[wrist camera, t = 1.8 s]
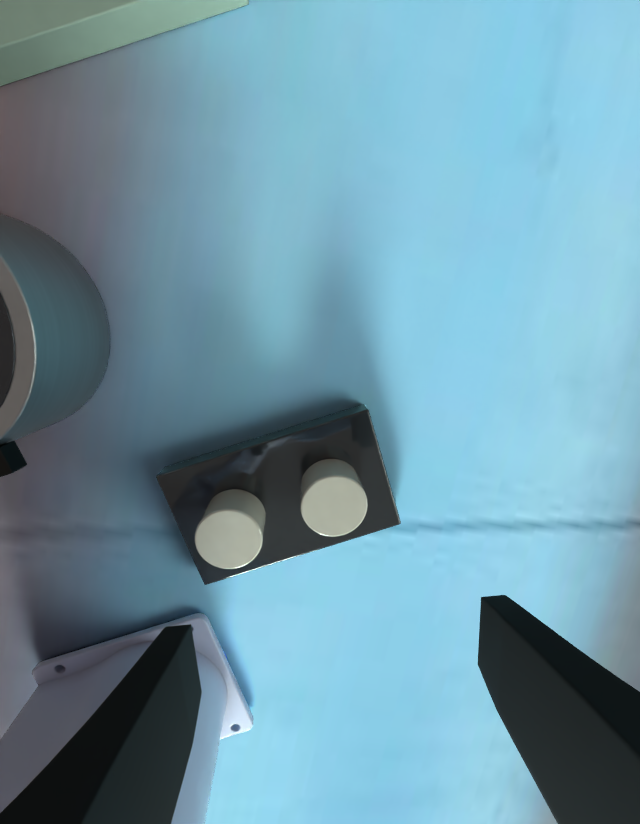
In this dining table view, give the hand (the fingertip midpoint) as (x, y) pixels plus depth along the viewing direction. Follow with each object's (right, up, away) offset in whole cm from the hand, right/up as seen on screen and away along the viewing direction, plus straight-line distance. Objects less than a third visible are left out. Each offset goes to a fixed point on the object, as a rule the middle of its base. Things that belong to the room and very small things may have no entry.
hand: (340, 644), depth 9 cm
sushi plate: (-2, +2, +9) cm, 10 cm away
